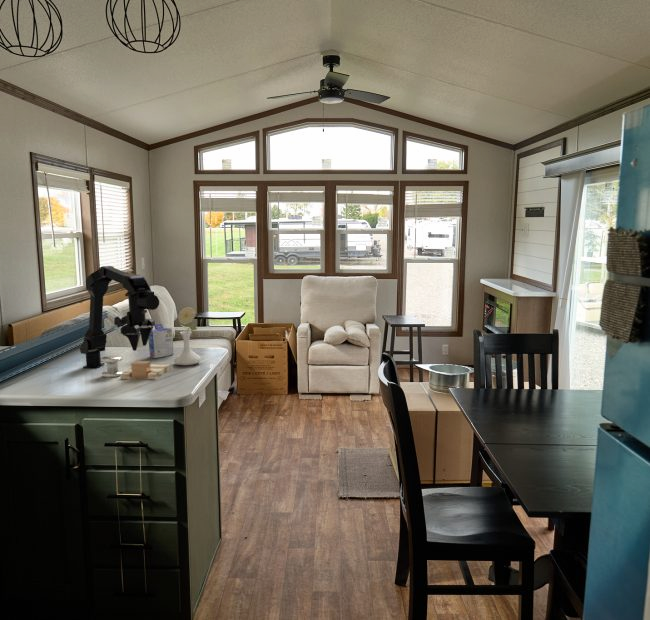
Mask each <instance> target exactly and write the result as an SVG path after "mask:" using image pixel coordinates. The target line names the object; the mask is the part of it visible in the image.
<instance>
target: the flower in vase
mask: <svg viewBox="0 0 650 620" xmlns="http://www.w3.org/2000/svg"><path fill="white" fill-rule="evenodd" d="M177 315H178V316H177V317H178V322H179V323H180V324H179V325H180V326H181V327H183V328H184V329H186V330H184V331H180V332H179V333H180V335H181V337H182V340H183V350H182V351H181V352H179V354H177V356H176V357H174V359H173V362H174V364H175V365H179V366H191V365H196V364H198V363H200V362H202V361H201V360H202V358H201V357H200V355H199V354H197V353H196V352H194V350H192V349H191V348H190V338H191V335H192V333H193V332H192V331H196V330H198V328H197V326H196V324H191V323H192V322H193V320H195V317H196V309H194V308H192V307H190V306H187V307H184V308H182V309H181V310H180V311H179V313H178V314H177ZM187 324H189V326H188V328H187V326H184V325H187ZM189 330H190V331H189Z"/></svg>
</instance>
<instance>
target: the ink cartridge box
mask: <svg viewBox="0 0 650 620" xmlns="http://www.w3.org/2000/svg"><path fill="white" fill-rule="evenodd" d="M148 349H149V358H153V359H156V358H163V357H169V356H173V355H175V352H174V339H173V328H169V327H164V326H163V324H162V323H158V324H157V323H156V324H155V326H154V329H152V332H151V334H150V336H149V339H148Z"/></svg>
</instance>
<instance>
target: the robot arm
mask: <svg viewBox="0 0 650 620" xmlns="http://www.w3.org/2000/svg"><path fill="white" fill-rule="evenodd" d="M112 281H114V282H116V283H118V284H121V286H122V288H124V290H125V291H127V292H126V293H125V294H124V296H125V297H127V298H128V311H127V312H126V315H124V316H121V315H118V316H115V317H113V319H114V320H113V324H114V325H115V326H116V328H118V329H119V328H120V334H121V335H123V336H125V337H126V338H127V339H128V341H129V344H130V345H131V348H132V351H134V352H135V351H137V350H138V345H139V341H140V338H141V342H142V346H143V347H145V346H147V344H148V342H149V336H150V334H151V332H152V330H154V329H155V325H156V324H155V319H153V318H146V313H148V310H149V311H151V310H152V311H154V310H157V308H159V305H160V299H159V297H158V296H157V294H155V292H154V291H152V289H151V287H150V285H149V284H148V281H147V279H146V278H145V276H144V275H142V274H136V273H135V274H134V273H133V274H131V273H128V272H125V271H123V270H121V269H118V268H115V267H114V266H112V265H104V266H100V267H98V269H97V270H95V271H93V272H92V273H90V274H89V275H88V276H87V277H86V279H85V286H86V290H87V293H89V296H90V299H89V301H90V302H89V321H88V324H89V325H88V329H87V331H86V332H85V334H84V338H83V340H82V341H83V342H82V343H81V345H80V347H79V351H80V354H83V355H85V363H86V364H85V365H83V367H82V368H85V369H87V368H88V369H95V368H96V369H97V368H100V367H102V366H105V363H104V362H101V358H102V357H101V352H105V351H106V345H107V334H106V333H105V332H104V331H103V329H102V328H103V312H104V311H103V310H104V309H103V307H104V296H105V295H106V293H108V290H109V285H110V283H111V282H112Z"/></svg>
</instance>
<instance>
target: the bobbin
mask: <svg viewBox="0 0 650 620" xmlns="http://www.w3.org/2000/svg"><path fill="white" fill-rule="evenodd" d="M121 361H123V356H122V355H107V356H103V357H101V363H104V364H105V363H106V370H105V371H103V372H102V373H101V375H102V377H103V378H106V379H107V378H109V379H110V378H117V377H118V378H119V377H121V373H123V372H124V370H121V369H119V364H118V362H121Z"/></svg>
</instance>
